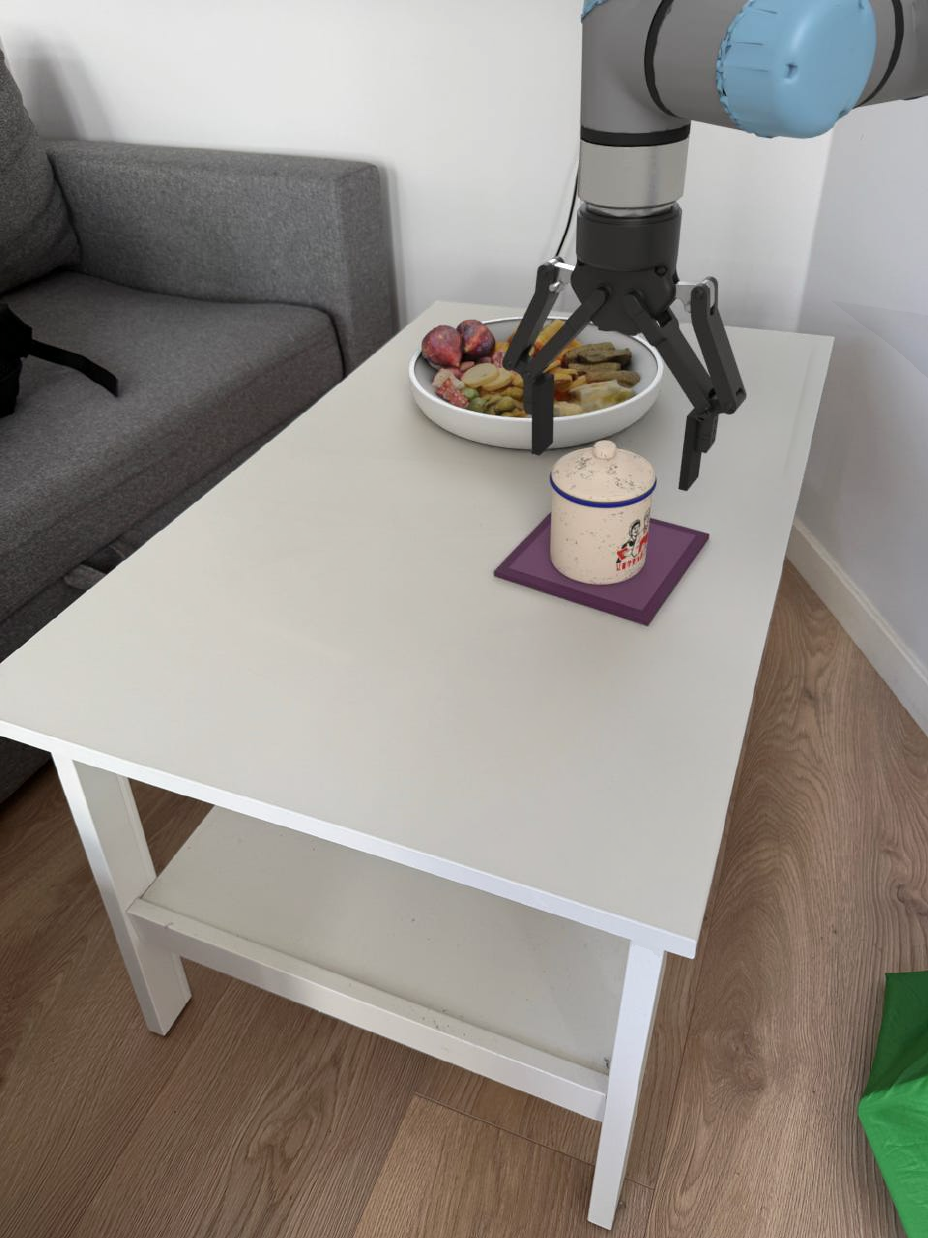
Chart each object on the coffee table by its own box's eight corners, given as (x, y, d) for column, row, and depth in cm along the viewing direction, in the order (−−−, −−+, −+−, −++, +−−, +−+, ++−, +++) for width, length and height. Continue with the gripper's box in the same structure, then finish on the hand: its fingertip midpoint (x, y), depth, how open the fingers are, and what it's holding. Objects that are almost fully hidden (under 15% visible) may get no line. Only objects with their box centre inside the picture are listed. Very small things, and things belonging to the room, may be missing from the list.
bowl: (681, 367, 117) (689, 306, 112) (626, 480, 96) (633, 411, 91) (464, 341, 126) (462, 284, 121) (369, 440, 105) (362, 375, 100)
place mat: (709, 538, 87) (709, 533, 86) (648, 626, 77) (648, 620, 77) (566, 499, 93) (567, 494, 93) (493, 576, 83) (493, 570, 83)
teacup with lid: (633, 597, 79) (646, 479, 72) (534, 576, 82) (536, 461, 75) (664, 525, 88) (678, 414, 80) (573, 509, 90) (578, 399, 83)
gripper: (820, 205, 63) (770, 478, 76) (503, 175, 73) (507, 418, 87) (789, 235, 58) (741, 521, 71) (454, 198, 69) (466, 452, 82)
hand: (612, 465), depth 79 cm, fingers open, 13 cm apart
